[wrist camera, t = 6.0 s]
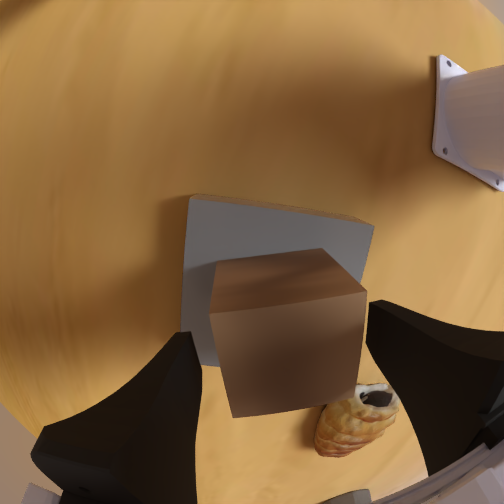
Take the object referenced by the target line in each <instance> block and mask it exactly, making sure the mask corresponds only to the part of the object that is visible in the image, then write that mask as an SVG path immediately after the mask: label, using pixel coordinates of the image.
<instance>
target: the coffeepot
mask: <svg viewBox="0 0 504 504" xmlns="http://www.w3.org/2000/svg"><path fill="white" fill-rule="evenodd" d="M370 502H372V501H371V495H370V491H369V490H368V489H362V490H356V491H352V492H348V493H345V494H342V495H339V496H337V497H334V498H332V499H330V500H328V501H326V502H324V503H323V504H368V503H370Z"/></svg>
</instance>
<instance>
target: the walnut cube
mask: <svg viewBox="0 0 504 504" xmlns="http://www.w3.org/2000/svg"><path fill="white" fill-rule="evenodd" d="M366 301H367V290H366V289H365V288H364V287H363V286H362V285H361V284H359V283H358V282H357V281H356V280H355V279H354V278H353V277H352V276H351V275H350V274H349V273H348V272H347V271H346V270H345V269H344V268H343V267H342V266H341V265H340V264H339V263H338V262H337V261H336V260H335V259H333V258H332V257H331V256H330V255H329V254H328V253H327V252H326V251H325V250H324V249H323V248H317V249H309V250H301V251H293V252H285V253H277V254H268V255H260V256H252V257H244V258H235V259H227V260H219V261H217V264H216V270H215V277H214V283H213V290H212V296H211V303H210V310H209V317H210V322H211V327H212V332H213V336H214V341H215V346H216V350H217V355H218V359H219V364H220V368H221V372H222V377H223V381H224V385H225V389H226V393H227V397H228V401H229V405H230V409H231V413H232V417H233V418H240V417H250V416H259V415H267V414H274V413H281V412H288V411H294V410H299V409H305V408H310V407H315V406H320V405H324V404H329V403H333V402H338V401H342V400H346V399H350V398H353V397H354V394H355V388H356V383H357V377H358V370H359V364H360V357H361V349H362V341H363V333H364V323H365V313H366Z"/></svg>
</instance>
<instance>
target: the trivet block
mask: <svg viewBox="0 0 504 504" xmlns="http://www.w3.org/2000/svg"><path fill="white" fill-rule="evenodd" d="M373 230H374V226H373V225H371V224H369V223H367V222H365V221H362V220H360V219H358V218H356V217H352V216H347V215H341V214H335V213H330V212H324V211H318V210H312V209H306V208H300V207H294V206H287V205H280V204H274V203H267V202H260V201H252V200H245V199H237V198H229V197H221V196H213V195H204V194H195V195H194V196H192V197H191V198H190V199H189V207H188V217H187V228H186V239H185V251H184V265H183V281H182V300H181V327H180V332H187V331H191V333H192V337H193V340H194V344H195V347H196V351H197V355H198V358H199V361H200V365H207V366H217V367H220V364H219V359H218V355H217V350H216V346H215V341H214V336H213V332H212V327H211V322H210V317H209V310H210V303H211V296H212V290H213V283H214V277H215V270H216V264H217V261H219V260H227V259H235V258H244V257H252V256H260V255H268V254H277V253H285V252H293V251H301V250H309V249H317V248H323V249H324V250H325V251H326V252H327V253H328V254H329V255H330V256H331V257H332V258H333V259H335V260H336V261H337V262H338V263H339V264H340V265H341V266H342V267H343V268H344V269H345V270H346V271H347V272H348V273H349V274H350V275H351V276H352V277H353V278H354V279H355V280H356V281H357V282H358V283H359V284H360V282H361V279H362V275H363V271H364V267H365V264H366V260H367V256H368V252H369V248H370V243H371V239H372V235H373Z"/></svg>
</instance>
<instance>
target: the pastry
mask: <svg viewBox="0 0 504 504" xmlns="http://www.w3.org/2000/svg"><path fill="white" fill-rule="evenodd" d="M399 404H400V399H399V397H398V396H397V394H396V393H395V391H394V390H393V388H392V387H391V386H390V385H387V384H385V383H378V384H372V385H367V386H366V385H356V388H355V394H354V397H353V398H350V399H346V400H342V401H338V402H333V403H329V404H327V406H326V408H325V409H324V410H322V413H321V416H320V418H319V421H318V425H317V429H316V432H315V436H314V444H315V450H316V452H317V453H318V454H319V455H320V456H323V457H325V456H326V457H338V458H339V457H344V456H347V455H349V454H350V453H352V452H353V451H356V450H358V449H360V448H362V447H364V446H365V445H367V444H369V443H371V442H372V441H374V440H375V439H376V438H379V437H381V436H382V435H383V434H384V432H385V429H386V428H387V427H388V426H390V425H391V424H393V423H394V422H395V418H396V413H397V412H398V411H399Z"/></svg>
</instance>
